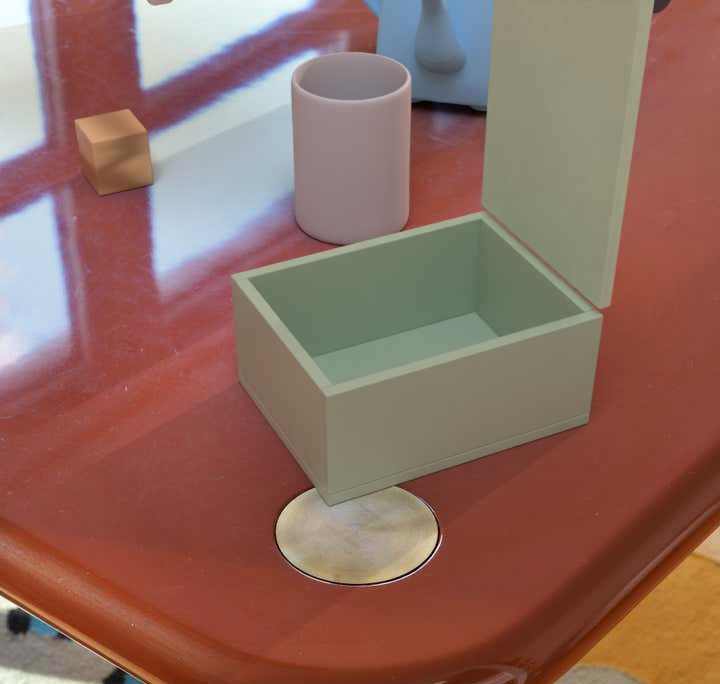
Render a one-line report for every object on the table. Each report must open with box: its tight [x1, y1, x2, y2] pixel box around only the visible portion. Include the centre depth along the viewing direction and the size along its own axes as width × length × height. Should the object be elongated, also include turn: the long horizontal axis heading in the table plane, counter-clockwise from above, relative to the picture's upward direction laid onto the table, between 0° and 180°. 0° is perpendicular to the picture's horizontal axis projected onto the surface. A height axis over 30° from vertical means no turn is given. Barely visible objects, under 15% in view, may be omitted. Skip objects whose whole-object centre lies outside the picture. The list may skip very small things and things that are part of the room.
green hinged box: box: [230, 210, 604, 507], centre depth 82 cm, size 18×14×8 cm
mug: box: [290, 51, 412, 246], centre depth 99 cm, size 12×8×11 cm
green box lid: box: [480, 0, 672, 310], centre depth 77 cm, size 18×14×5 cm
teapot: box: [361, 0, 494, 112], centre depth 114 cm, size 18×16×14 cm
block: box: [74, 108, 154, 197], centre depth 105 cm, size 4×4×4 cm
